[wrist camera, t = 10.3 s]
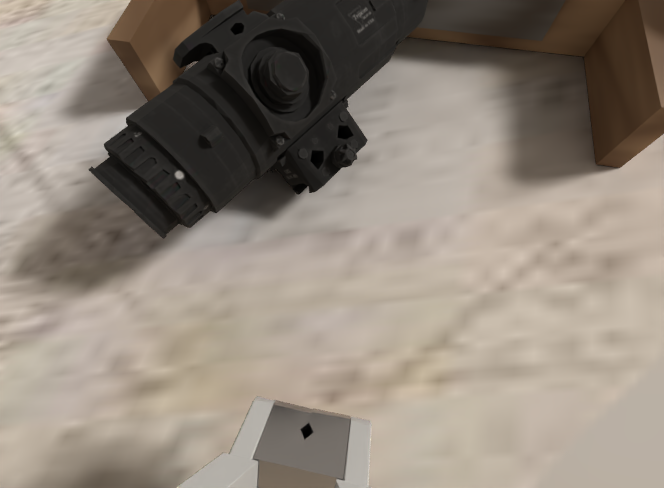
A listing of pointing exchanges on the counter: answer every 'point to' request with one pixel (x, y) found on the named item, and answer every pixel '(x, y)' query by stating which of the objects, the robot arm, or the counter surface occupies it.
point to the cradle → (480, 29)
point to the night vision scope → (254, 106)
